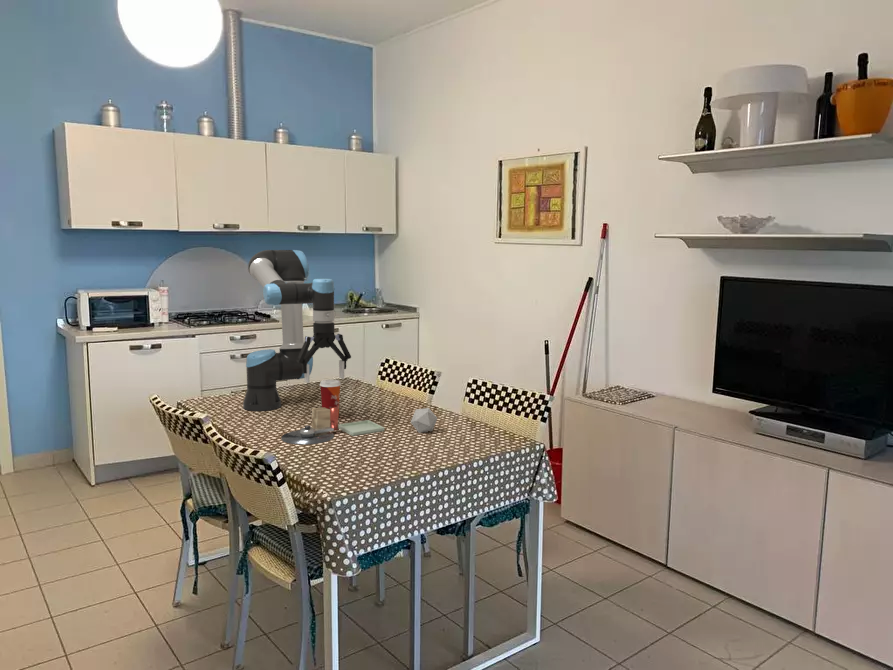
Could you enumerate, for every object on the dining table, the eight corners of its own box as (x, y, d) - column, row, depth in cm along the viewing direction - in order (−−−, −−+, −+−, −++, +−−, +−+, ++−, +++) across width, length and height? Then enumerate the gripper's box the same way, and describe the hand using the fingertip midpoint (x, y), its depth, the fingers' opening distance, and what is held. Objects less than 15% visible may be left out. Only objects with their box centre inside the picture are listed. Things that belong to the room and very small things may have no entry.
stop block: (311, 427, 247) (312, 408, 247) (324, 426, 250) (324, 407, 250) (317, 429, 243) (317, 410, 243) (329, 428, 246) (330, 409, 246)
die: (431, 428, 251) (414, 407, 250) (445, 420, 245) (429, 399, 244) (418, 441, 245) (402, 419, 244) (433, 434, 239) (416, 411, 238)
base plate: (274, 435, 238) (273, 424, 237) (321, 428, 248) (321, 417, 247) (292, 448, 223) (292, 436, 222) (342, 440, 233) (342, 428, 232)
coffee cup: (337, 422, 255) (336, 383, 253) (316, 421, 257) (315, 382, 255) (344, 417, 264) (344, 379, 262) (324, 415, 265) (324, 378, 263)
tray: (337, 428, 247) (337, 424, 247) (368, 423, 254) (368, 419, 254) (352, 436, 237) (352, 432, 237) (384, 431, 244) (384, 427, 243)
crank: (303, 438, 232) (303, 413, 231) (298, 434, 236) (297, 410, 235) (340, 432, 239) (340, 408, 238) (335, 429, 243) (334, 405, 242)
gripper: (294, 325, 231) (296, 385, 234) (359, 321, 245) (360, 378, 248) (286, 322, 238) (287, 382, 240) (350, 319, 252) (351, 374, 254)
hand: (324, 380), depth 244 cm, fingers open, 13 cm apart
